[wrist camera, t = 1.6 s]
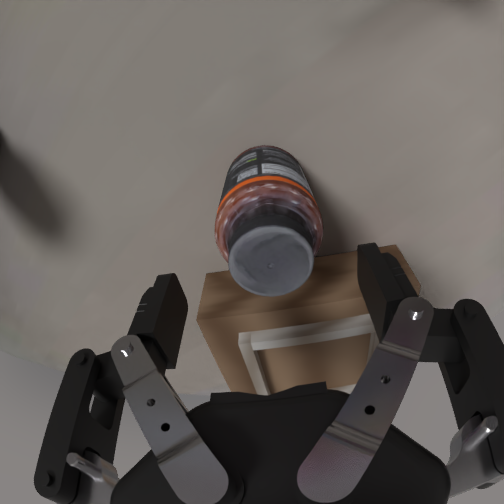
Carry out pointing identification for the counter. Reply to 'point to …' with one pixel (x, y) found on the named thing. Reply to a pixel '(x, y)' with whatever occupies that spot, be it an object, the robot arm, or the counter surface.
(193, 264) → the counter surface
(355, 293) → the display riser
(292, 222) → the supplement bottle
